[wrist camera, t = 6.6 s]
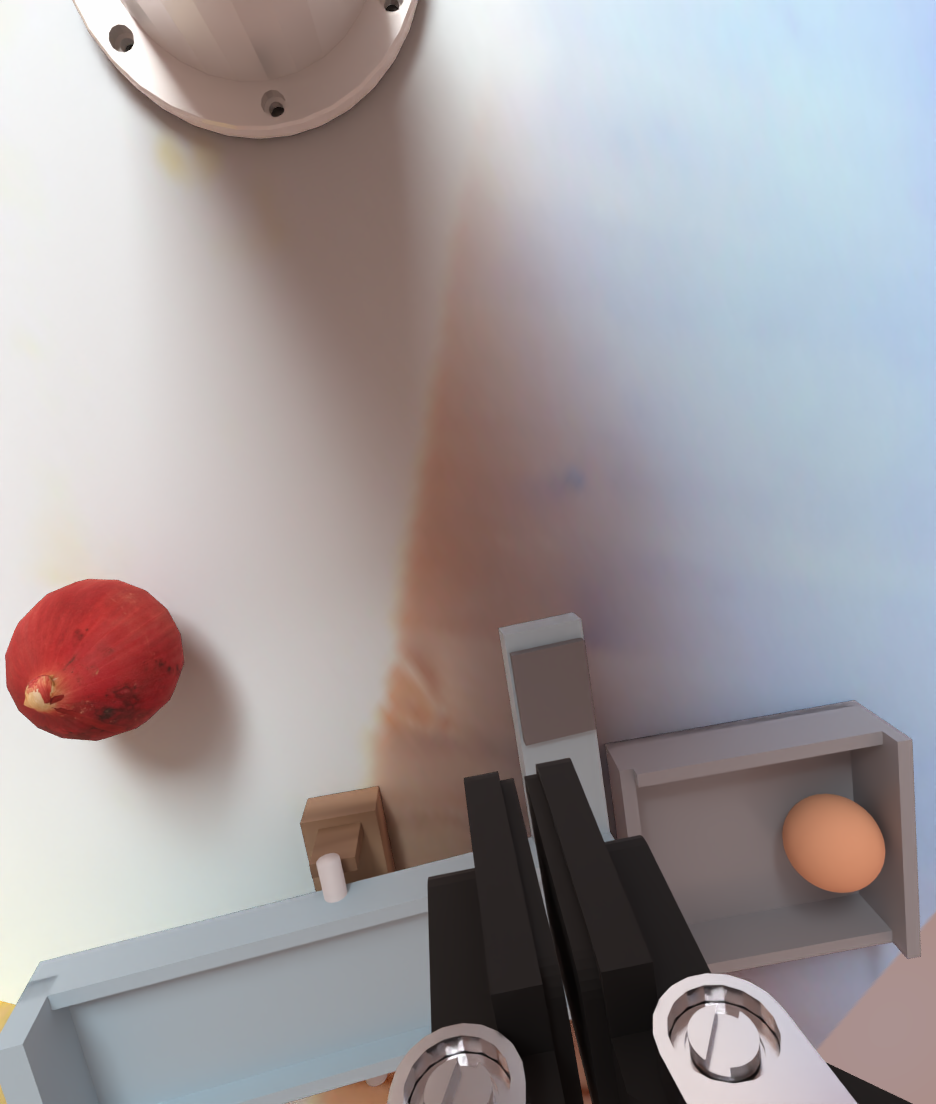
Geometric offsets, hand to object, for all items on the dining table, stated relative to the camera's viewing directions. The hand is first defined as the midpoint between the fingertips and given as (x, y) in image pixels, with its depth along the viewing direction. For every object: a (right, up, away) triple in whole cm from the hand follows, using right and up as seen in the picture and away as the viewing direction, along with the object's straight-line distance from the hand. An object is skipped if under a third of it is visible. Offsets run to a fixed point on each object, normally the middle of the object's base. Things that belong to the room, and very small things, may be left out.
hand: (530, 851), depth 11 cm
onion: (-15, +1, +20) cm, 25 cm away
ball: (+13, -9, +19) cm, 25 cm away
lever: (-6, -8, +17) cm, 20 cm away
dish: (+12, -8, +23) cm, 27 cm away
